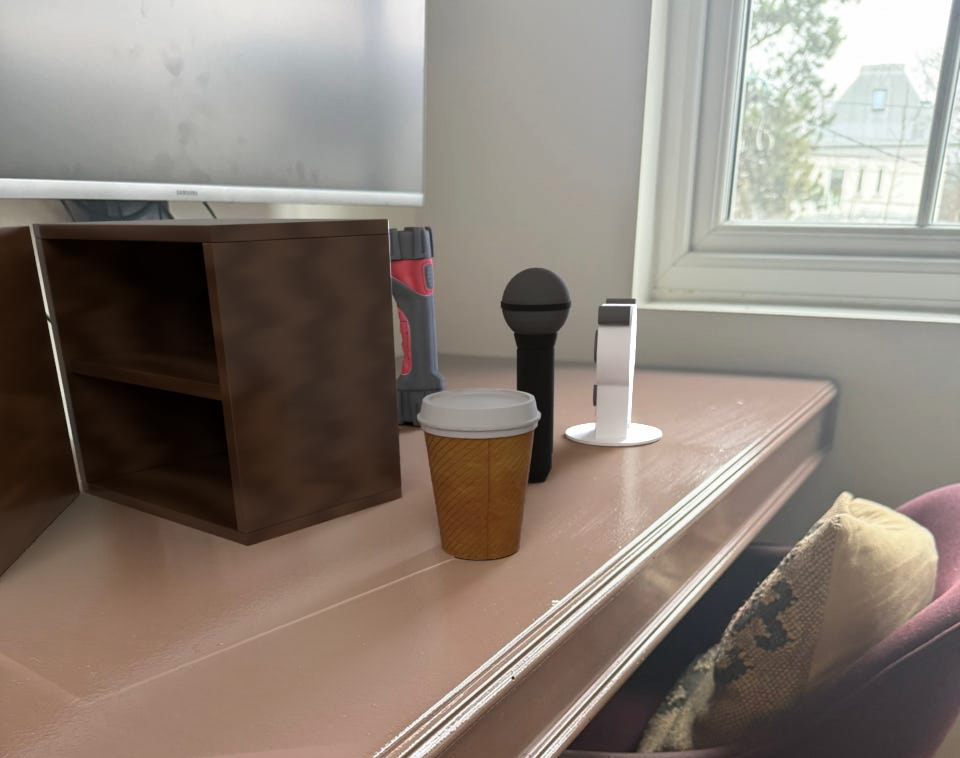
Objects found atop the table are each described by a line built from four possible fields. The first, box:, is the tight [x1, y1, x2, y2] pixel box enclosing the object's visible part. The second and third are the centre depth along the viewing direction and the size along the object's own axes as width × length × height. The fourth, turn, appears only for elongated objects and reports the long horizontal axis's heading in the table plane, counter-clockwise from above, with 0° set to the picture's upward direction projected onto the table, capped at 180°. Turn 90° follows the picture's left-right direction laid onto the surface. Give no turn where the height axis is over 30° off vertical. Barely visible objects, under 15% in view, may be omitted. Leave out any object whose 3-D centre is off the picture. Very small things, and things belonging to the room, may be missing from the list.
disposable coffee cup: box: [417, 387, 541, 561], centre depth 76 cm, size 10×10×12 cm
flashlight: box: [389, 226, 446, 427], centre depth 119 cm, size 8×8×23 cm
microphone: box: [500, 267, 572, 484], centre depth 93 cm, size 7×7×20 cm
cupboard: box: [31, 218, 403, 547], centre depth 89 cm, size 18×26×24 cm
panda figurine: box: [565, 297, 663, 447], centre depth 112 cm, size 12×11×15 cm
